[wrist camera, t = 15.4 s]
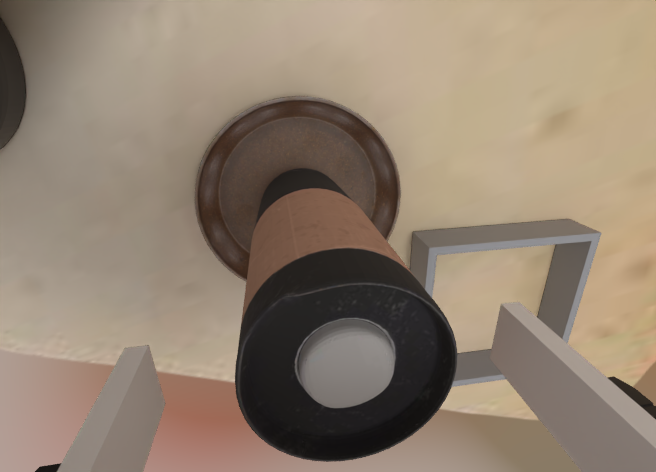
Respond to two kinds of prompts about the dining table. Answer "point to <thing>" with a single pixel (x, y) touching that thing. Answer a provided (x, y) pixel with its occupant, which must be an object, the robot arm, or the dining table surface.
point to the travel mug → (335, 329)
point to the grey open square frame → (566, 265)
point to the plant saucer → (283, 155)
